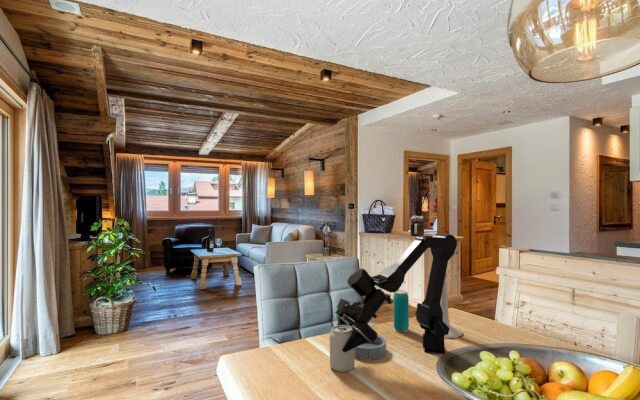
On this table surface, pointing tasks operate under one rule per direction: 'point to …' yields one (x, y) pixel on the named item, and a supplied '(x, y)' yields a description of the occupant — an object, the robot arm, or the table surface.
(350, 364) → the can
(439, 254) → the robot arm
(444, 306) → the candlestick
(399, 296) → the beverage can
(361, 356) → the bowl
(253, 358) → the table surface
